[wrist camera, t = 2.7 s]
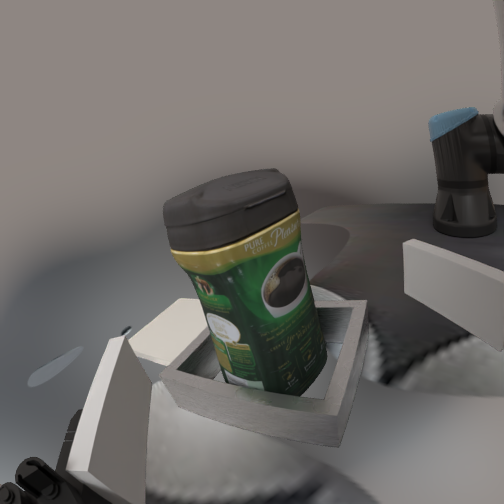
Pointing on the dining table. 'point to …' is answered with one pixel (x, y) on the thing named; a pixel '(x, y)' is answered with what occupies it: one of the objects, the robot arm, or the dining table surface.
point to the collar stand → (273, 404)
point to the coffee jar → (250, 278)
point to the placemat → (170, 332)
